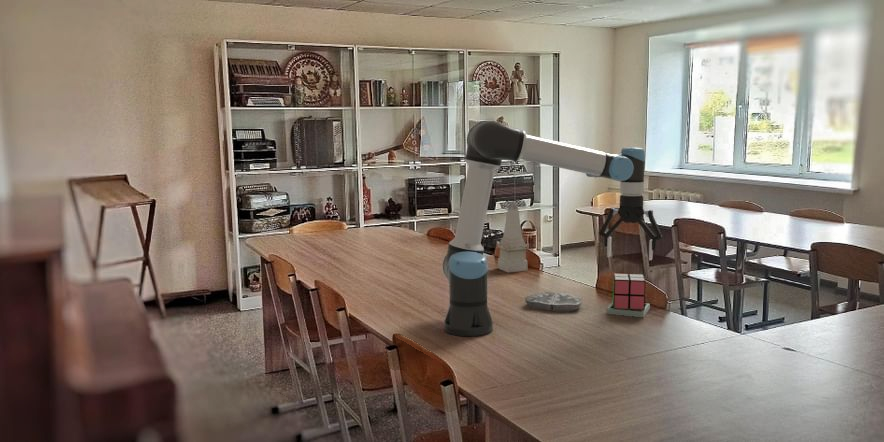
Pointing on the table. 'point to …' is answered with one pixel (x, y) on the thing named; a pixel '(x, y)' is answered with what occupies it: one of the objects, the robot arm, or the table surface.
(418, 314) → the table surface
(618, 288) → the puzzle cube
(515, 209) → the miniature monument
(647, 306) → the coaster
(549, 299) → the brain slice
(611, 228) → the robot arm
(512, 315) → the table surface
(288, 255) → the table surface
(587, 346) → the table surface
